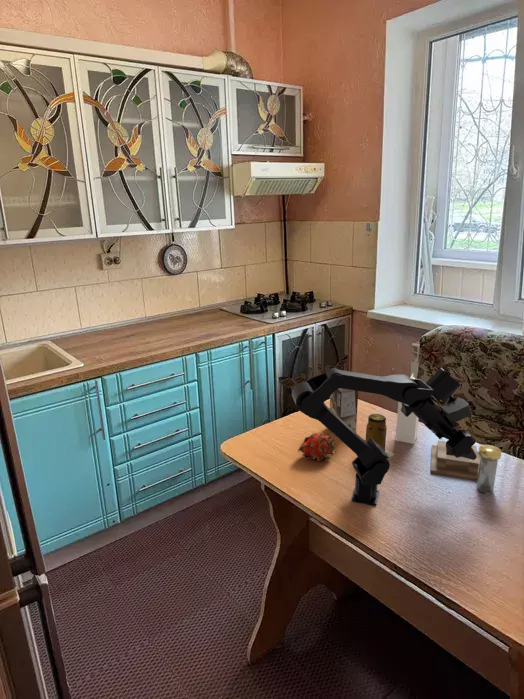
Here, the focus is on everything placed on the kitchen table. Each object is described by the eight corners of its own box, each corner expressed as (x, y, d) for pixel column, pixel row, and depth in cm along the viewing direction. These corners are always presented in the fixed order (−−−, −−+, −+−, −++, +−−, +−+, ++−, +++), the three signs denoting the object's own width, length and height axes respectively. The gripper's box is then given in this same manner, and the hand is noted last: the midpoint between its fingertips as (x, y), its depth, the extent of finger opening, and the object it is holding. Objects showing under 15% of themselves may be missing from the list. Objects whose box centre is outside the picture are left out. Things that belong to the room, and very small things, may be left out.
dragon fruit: (338, 461, 151) (301, 470, 149) (328, 436, 156) (292, 445, 154) (342, 449, 144) (303, 459, 142) (332, 424, 149) (294, 433, 147)
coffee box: (357, 435, 164) (359, 390, 160) (339, 437, 162) (341, 392, 158) (344, 423, 173) (346, 381, 168) (327, 426, 171) (329, 383, 166)
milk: (395, 440, 160) (399, 377, 154) (398, 433, 166) (403, 371, 159) (414, 444, 158) (419, 379, 151) (417, 436, 163) (422, 373, 157)
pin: (496, 496, 130) (502, 456, 126) (474, 492, 131) (479, 452, 128) (494, 485, 135) (500, 446, 131) (473, 482, 136) (478, 443, 133)
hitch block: (483, 481, 137) (485, 468, 135) (430, 473, 141) (431, 460, 140) (479, 454, 151) (481, 443, 150) (431, 447, 155) (432, 436, 154)
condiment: (373, 444, 158) (375, 410, 154) (395, 454, 152) (398, 419, 148) (358, 451, 153) (360, 416, 150) (380, 462, 147) (383, 425, 144)
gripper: (472, 406, 115) (510, 445, 119) (437, 378, 132) (471, 414, 137) (436, 438, 116) (475, 476, 120) (406, 406, 134) (441, 441, 138)
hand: (466, 449), depth 129 cm, fingers open, 9 cm apart
